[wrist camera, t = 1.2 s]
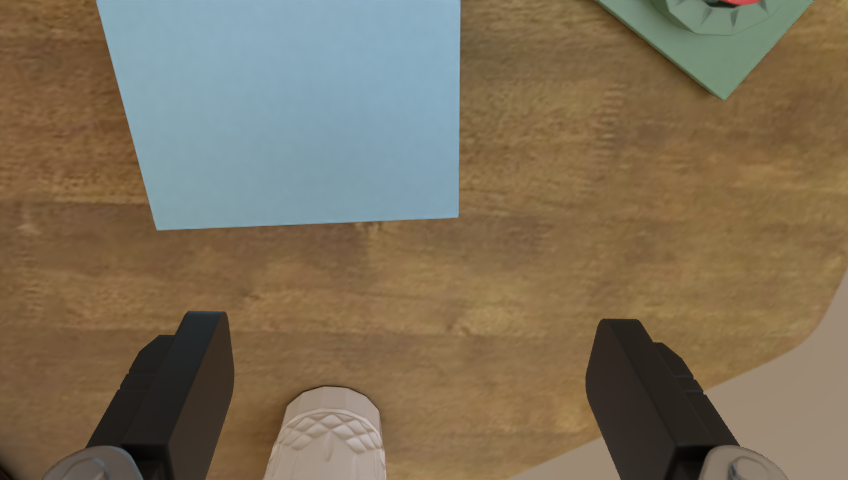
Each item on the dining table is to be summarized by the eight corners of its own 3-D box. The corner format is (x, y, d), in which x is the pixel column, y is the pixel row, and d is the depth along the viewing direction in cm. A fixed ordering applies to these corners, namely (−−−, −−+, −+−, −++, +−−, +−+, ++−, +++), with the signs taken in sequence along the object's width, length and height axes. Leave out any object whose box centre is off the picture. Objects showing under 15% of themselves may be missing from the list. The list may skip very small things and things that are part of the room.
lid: (43, -242, 17) (-101, -309, 12) (459, -247, 17) (489, -314, 12) (163, 221, 23) (103, 302, 18) (456, 209, 24) (474, 285, 19)
